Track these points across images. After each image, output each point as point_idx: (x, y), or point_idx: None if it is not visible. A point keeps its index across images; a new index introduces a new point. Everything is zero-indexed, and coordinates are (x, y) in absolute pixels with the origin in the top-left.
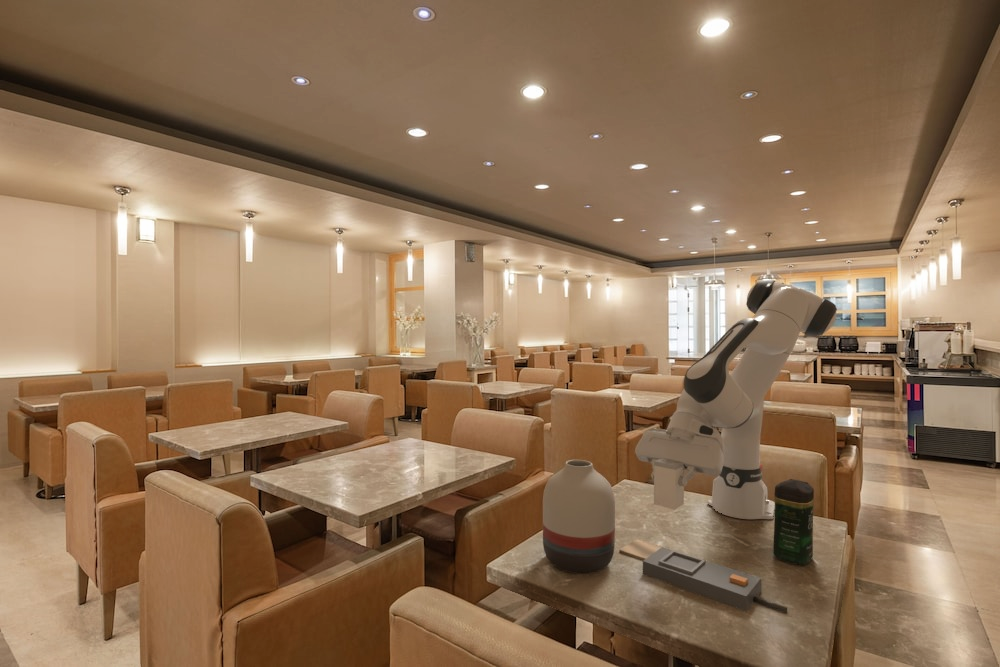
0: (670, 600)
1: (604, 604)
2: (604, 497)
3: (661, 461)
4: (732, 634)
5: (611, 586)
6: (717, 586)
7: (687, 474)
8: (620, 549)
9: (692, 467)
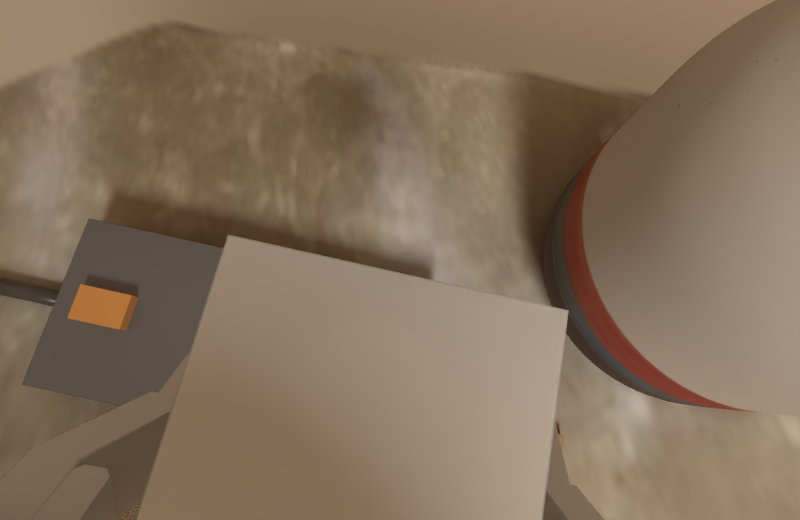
0: (322, 189)
1: (473, 89)
2: (706, 86)
3: (469, 358)
4: (155, 107)
5: (491, 182)
6: (178, 239)
7: (128, 412)
8: (561, 440)
9: (1, 503)
